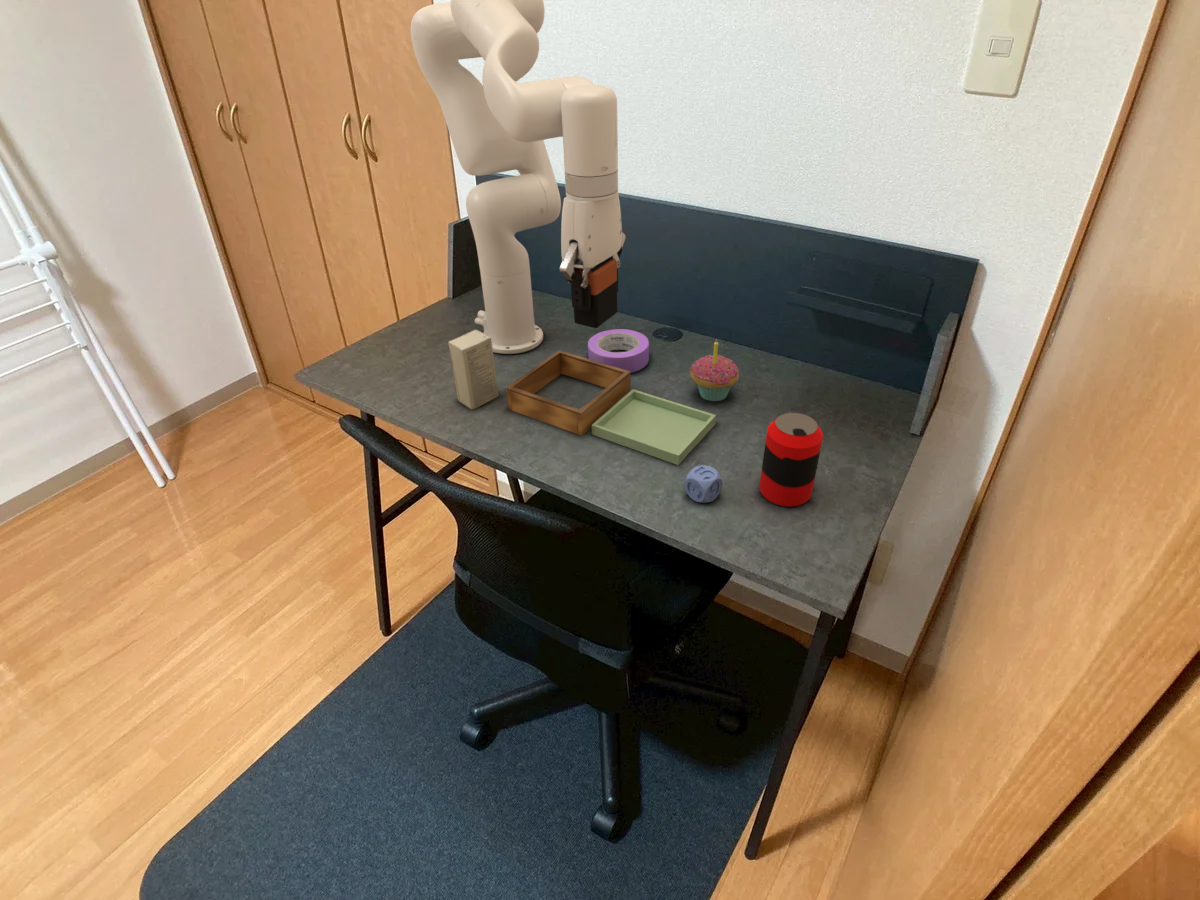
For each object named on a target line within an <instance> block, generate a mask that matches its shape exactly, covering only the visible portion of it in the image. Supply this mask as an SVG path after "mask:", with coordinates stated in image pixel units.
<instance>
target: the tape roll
mask: <svg viewBox="0 0 1200 900" xmlns="http://www.w3.org/2000/svg"><path fill="white" fill-rule="evenodd" d="M616 351H617V352H616ZM587 356H588V358H587V359H590V360H594V361H597V362H600V363H604V364H607V365H610V366H614V367H617V368H620V369H624V370H627V371H630V372H631V374H633V373H636V372H638V371H641V370H643V369H644V368H645V367H646V366H647V365H648V363H649V360H650V359H649V358H650V341H649V339H648V337H647V336H646V335H645V334H643V333H641V332H639V331H636V330H632V329H624V328H614V329H608V330H604V331H600V332H598V333H596V334H593V335H592V336H591V337H590V338H589V340H588V342H587Z"/></svg>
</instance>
